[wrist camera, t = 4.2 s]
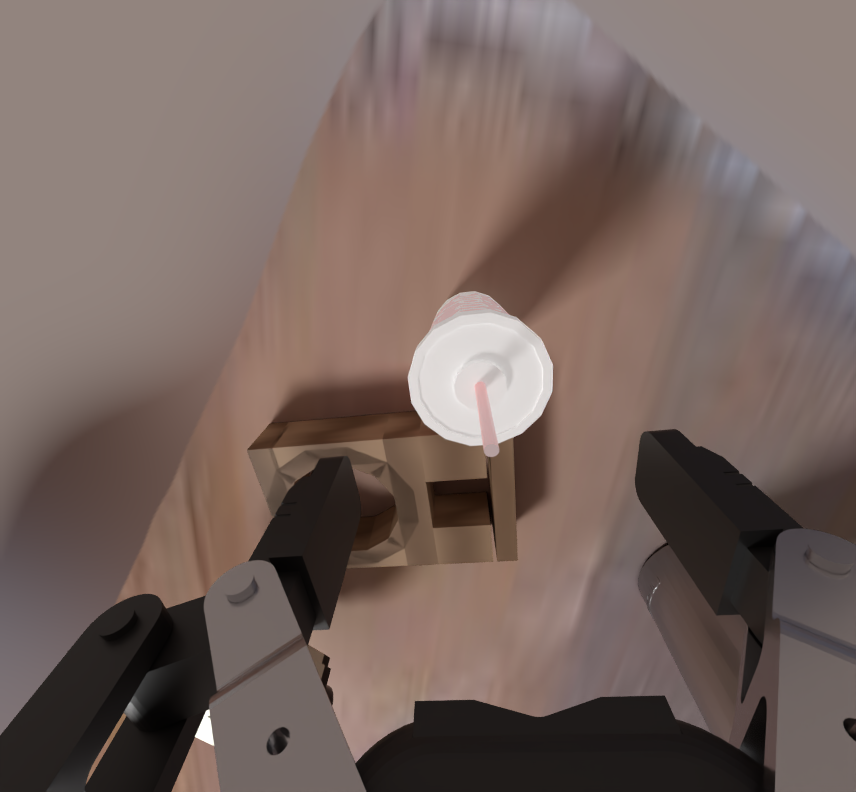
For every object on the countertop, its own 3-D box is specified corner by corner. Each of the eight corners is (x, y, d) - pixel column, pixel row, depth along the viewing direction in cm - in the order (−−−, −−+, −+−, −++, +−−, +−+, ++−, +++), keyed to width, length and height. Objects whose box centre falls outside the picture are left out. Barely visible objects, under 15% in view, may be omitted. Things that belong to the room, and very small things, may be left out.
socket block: (505, 403, 26) (512, 428, 23) (510, 525, 31) (517, 560, 28) (269, 423, 28) (246, 450, 25) (307, 536, 33) (292, 570, 30)
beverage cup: (527, 282, 23) (622, 366, 10) (509, 377, 26) (568, 535, 13) (425, 273, 23) (395, 344, 10) (418, 368, 26) (387, 517, 13)
